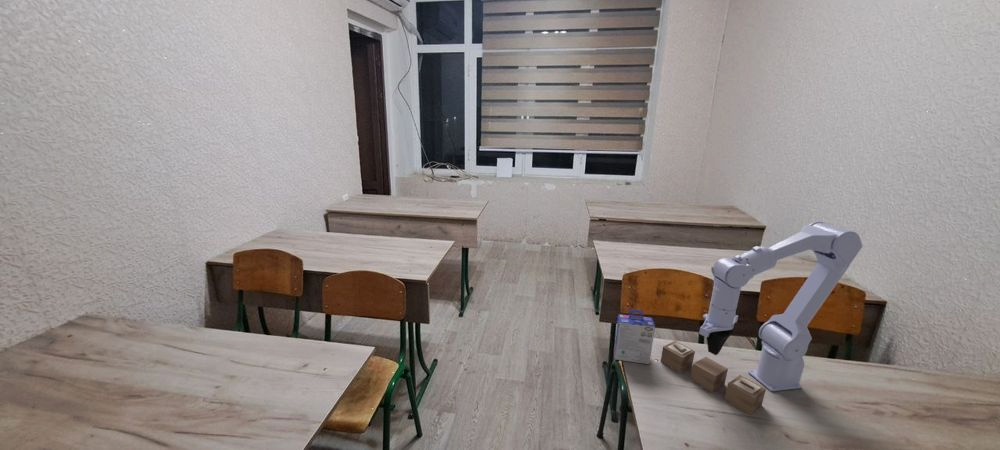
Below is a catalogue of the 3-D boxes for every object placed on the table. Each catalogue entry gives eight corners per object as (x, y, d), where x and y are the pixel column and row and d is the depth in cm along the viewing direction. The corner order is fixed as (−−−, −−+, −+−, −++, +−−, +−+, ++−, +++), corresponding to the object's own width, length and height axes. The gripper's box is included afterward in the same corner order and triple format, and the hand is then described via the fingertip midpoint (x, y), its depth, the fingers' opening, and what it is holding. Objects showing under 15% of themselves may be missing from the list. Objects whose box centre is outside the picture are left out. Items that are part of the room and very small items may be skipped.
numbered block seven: (672, 355, 113) (675, 339, 112) (692, 366, 108) (695, 350, 107) (660, 361, 110) (663, 345, 108) (679, 373, 105) (682, 356, 104)
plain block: (702, 372, 106) (705, 356, 105) (724, 384, 101) (728, 368, 100) (690, 379, 103) (693, 363, 101) (711, 392, 98) (715, 376, 97)
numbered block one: (736, 391, 99) (740, 373, 97) (761, 405, 94) (766, 387, 93) (724, 400, 96) (728, 381, 94) (749, 415, 91) (754, 396, 89)
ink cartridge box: (647, 353, 113) (654, 310, 109) (650, 365, 108) (657, 319, 104) (613, 349, 115) (618, 305, 111) (614, 360, 110) (620, 315, 106)
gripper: (722, 293, 103) (713, 337, 107) (691, 305, 95) (682, 352, 99) (750, 303, 97) (739, 350, 101) (720, 318, 89) (709, 367, 93)
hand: (713, 352), depth 99 cm, fingers closed
